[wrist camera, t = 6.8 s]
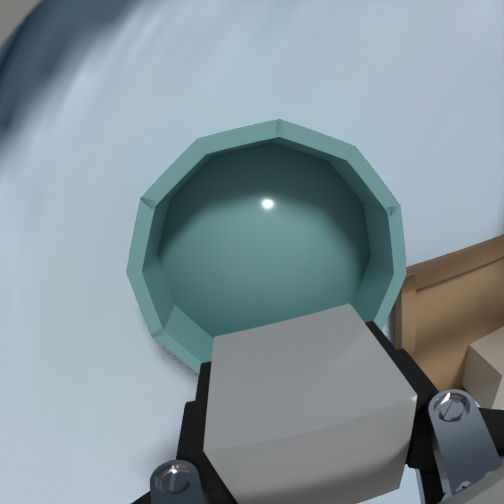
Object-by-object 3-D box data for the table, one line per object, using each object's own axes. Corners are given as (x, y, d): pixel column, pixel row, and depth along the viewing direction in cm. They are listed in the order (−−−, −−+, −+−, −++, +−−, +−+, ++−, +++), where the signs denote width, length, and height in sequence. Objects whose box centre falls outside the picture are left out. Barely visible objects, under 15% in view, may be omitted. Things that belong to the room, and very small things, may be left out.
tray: (532, 348, 21) (538, 353, 19) (391, 423, 21) (396, 433, 20) (550, 216, 17) (559, 219, 16) (391, 271, 17) (400, 278, 16)
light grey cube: (357, 398, 11) (398, 488, 6) (247, 425, 11) (254, 525, 6) (349, 303, 10) (417, 395, 5) (214, 336, 10) (203, 450, 5)
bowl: (383, 321, 18) (407, 350, 15) (191, 368, 18) (183, 405, 15) (353, 114, 15) (381, 104, 11) (124, 169, 15) (96, 171, 12)
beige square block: (496, 365, 20) (524, 392, 15) (461, 384, 20) (488, 416, 16) (504, 325, 19) (538, 351, 14) (469, 344, 19) (502, 375, 14)
